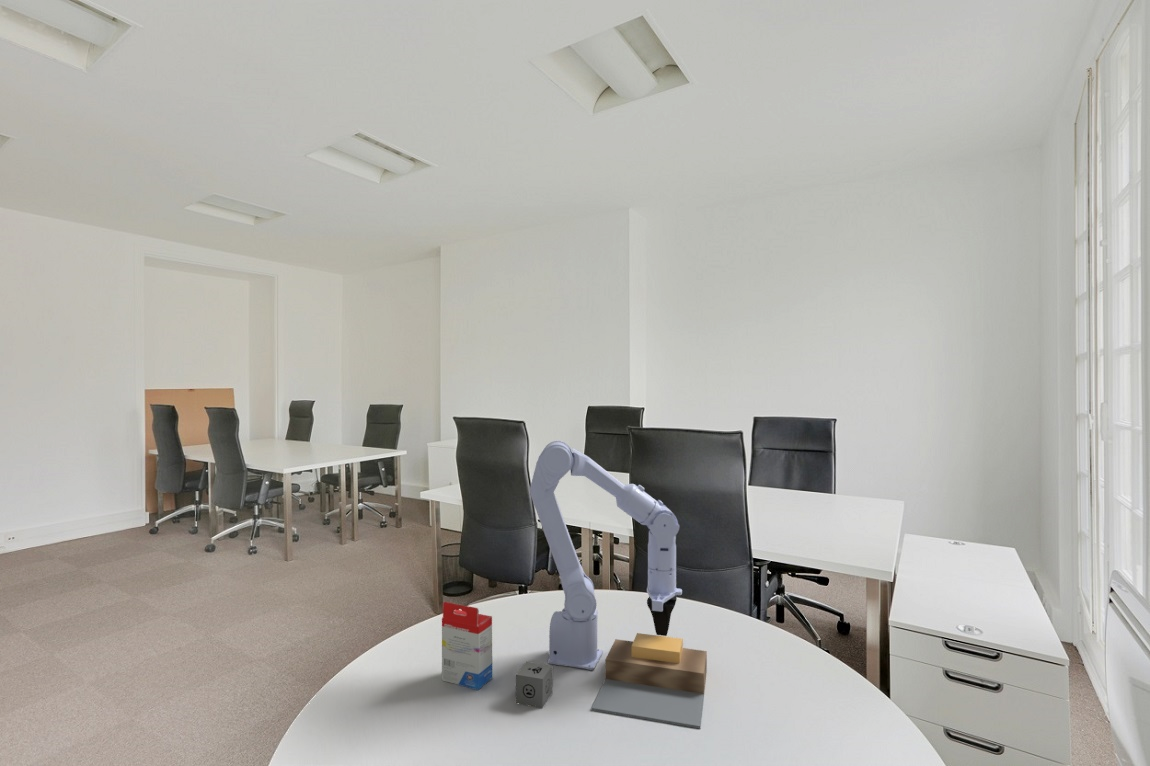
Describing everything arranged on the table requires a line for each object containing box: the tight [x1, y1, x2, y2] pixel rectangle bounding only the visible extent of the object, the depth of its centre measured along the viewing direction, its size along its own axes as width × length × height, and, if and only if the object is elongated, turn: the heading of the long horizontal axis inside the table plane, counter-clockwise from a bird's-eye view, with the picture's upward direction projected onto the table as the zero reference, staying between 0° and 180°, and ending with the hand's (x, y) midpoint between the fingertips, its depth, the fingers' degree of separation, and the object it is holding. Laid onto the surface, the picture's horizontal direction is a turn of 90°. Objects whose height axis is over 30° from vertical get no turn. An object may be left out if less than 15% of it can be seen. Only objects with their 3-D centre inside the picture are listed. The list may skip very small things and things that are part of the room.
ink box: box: [441, 601, 493, 691], centre depth 103 cm, size 8×5×15 cm, turn 65°
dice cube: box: [515, 661, 553, 709], centre depth 97 cm, size 5×5×5 cm
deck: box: [604, 638, 708, 695], centre depth 105 cm, size 18×9×4 cm, turn 74°
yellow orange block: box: [632, 632, 684, 663], centre depth 106 cm, size 9×6×2 cm, turn 74°
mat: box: [591, 678, 705, 729], centre depth 96 cm, size 18×11×1 cm, turn 74°
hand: (661, 634), depth 112 cm, fingers closed
